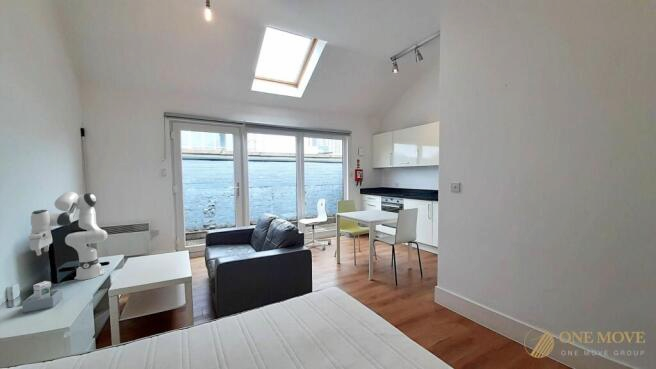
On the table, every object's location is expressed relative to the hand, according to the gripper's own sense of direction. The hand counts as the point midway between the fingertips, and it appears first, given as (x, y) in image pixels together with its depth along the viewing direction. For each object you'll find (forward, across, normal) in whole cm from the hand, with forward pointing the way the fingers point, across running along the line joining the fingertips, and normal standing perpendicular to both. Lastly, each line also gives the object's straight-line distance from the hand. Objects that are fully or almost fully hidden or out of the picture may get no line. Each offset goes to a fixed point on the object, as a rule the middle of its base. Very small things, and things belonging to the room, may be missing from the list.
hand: (42, 253), depth 174 cm
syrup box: (+31, +14, +4) cm, 35 cm away
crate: (+32, +14, +4) cm, 35 cm away
